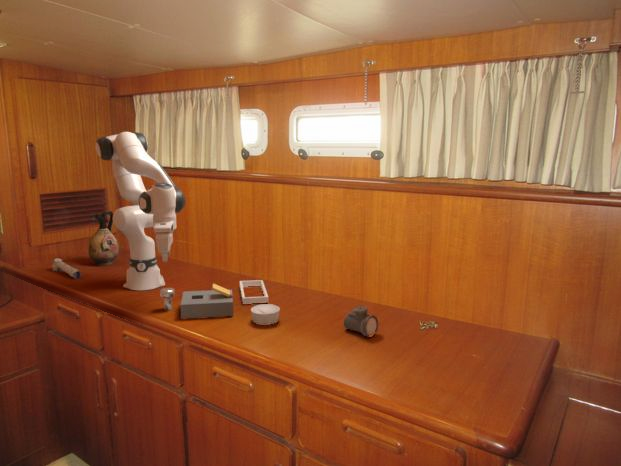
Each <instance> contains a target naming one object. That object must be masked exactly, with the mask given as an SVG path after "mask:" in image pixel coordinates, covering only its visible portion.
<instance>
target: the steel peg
mask: <svg viewBox="0 0 621 466" xmlns="http://www.w3.org/2000/svg"><path fill="white" fill-rule="evenodd" d="M175 292H176V291H175V288H173V287H163V288H161V289H160V290H159V293H160V294H159V295H160V296H159V297H160V298H163V303H164V311H167V310H168V311H172V309H173V308H172V307H173V305H172V297H174V296H175V295H176V294H175Z"/></svg>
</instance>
